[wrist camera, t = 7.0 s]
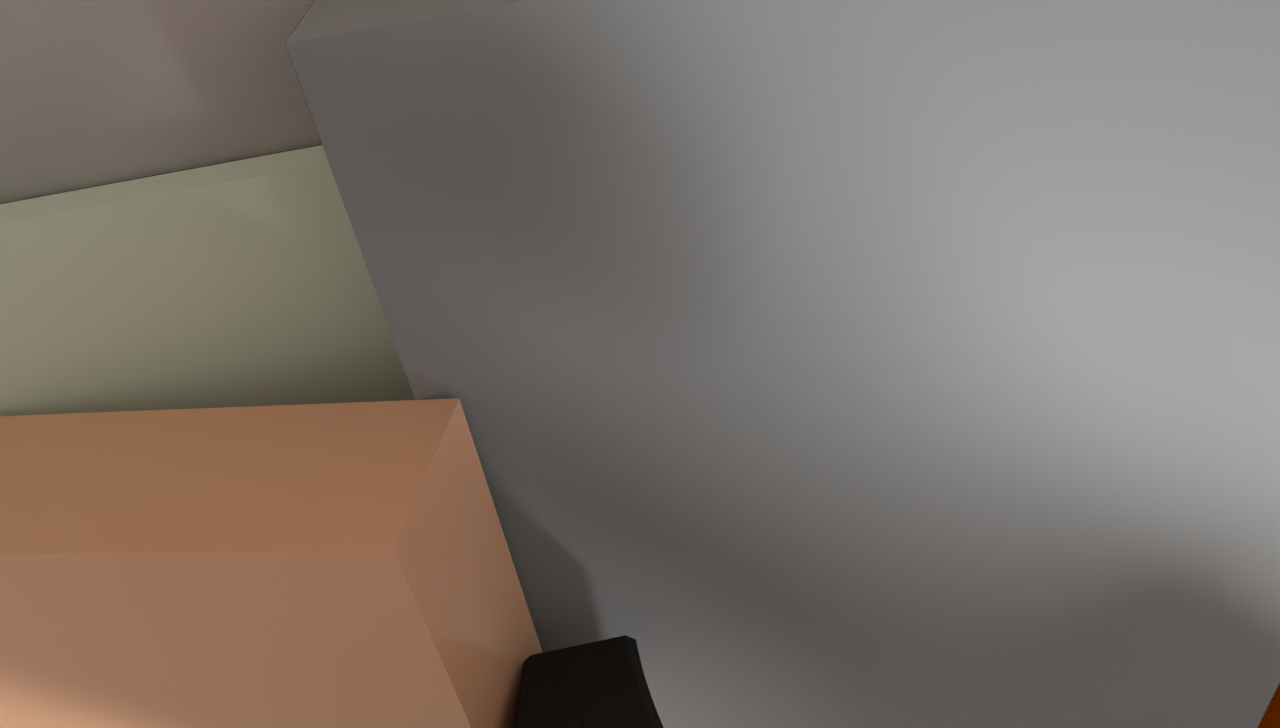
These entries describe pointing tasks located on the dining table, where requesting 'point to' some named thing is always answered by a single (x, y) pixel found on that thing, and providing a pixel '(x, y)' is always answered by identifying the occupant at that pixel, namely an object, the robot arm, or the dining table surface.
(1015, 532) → the riser
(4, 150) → the dining table surface
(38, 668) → the tile
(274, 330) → the mat
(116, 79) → the dining table surface
